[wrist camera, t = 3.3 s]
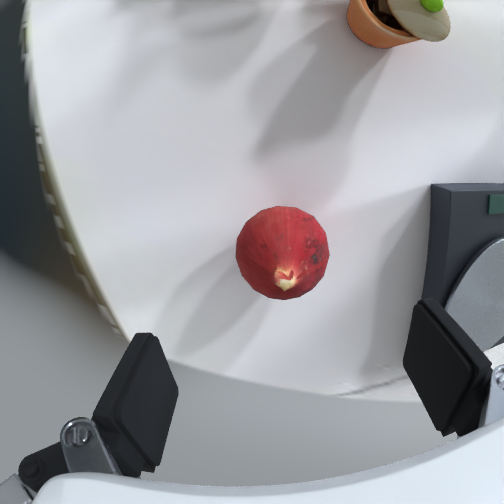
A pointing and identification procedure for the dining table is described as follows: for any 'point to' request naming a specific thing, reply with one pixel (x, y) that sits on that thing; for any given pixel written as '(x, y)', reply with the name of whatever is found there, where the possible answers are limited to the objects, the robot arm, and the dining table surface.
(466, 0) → the dining table surface
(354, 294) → the dining table surface
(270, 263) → the onion
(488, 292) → the scale pan
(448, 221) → the scale
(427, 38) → the toy tea set
